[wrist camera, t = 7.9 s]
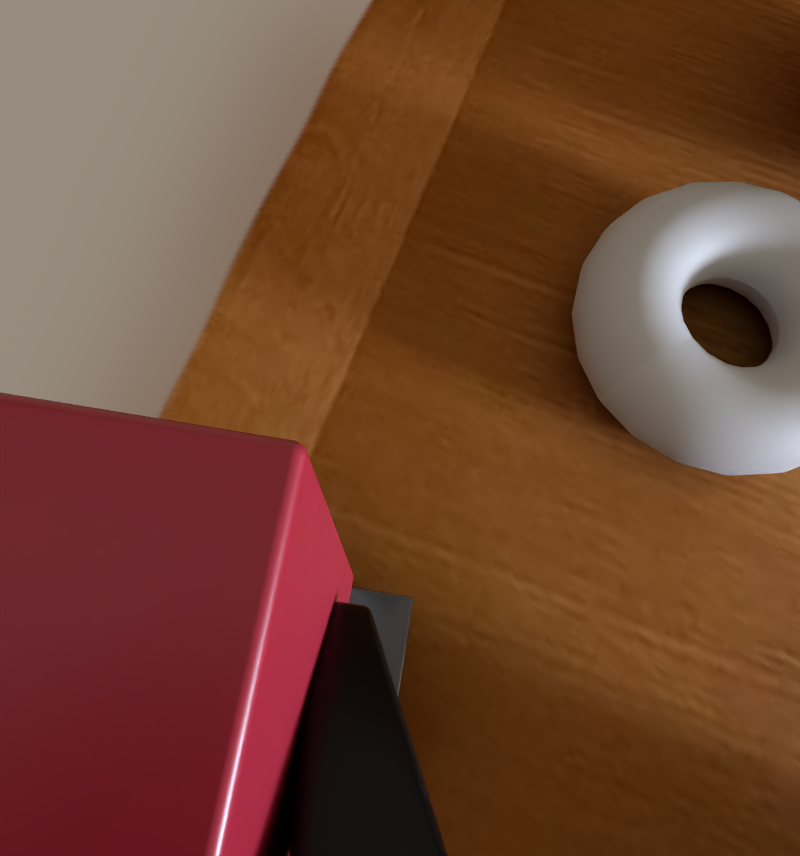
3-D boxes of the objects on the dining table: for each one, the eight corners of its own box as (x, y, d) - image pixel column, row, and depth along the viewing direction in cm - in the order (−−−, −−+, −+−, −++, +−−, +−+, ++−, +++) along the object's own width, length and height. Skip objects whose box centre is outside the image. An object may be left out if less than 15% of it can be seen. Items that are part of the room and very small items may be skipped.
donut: (897, 338, 24) (668, 170, 26) (983, 291, 21) (713, 102, 22) (742, 551, 22) (500, 351, 23) (811, 537, 18) (522, 305, 20)
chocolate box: (292, 923, 9) (17, 1831, 2) (93, 889, 9) (-795, 1664, 2) (354, 572, 10) (308, 437, 3) (183, 543, 10) (-193, 357, 3)
